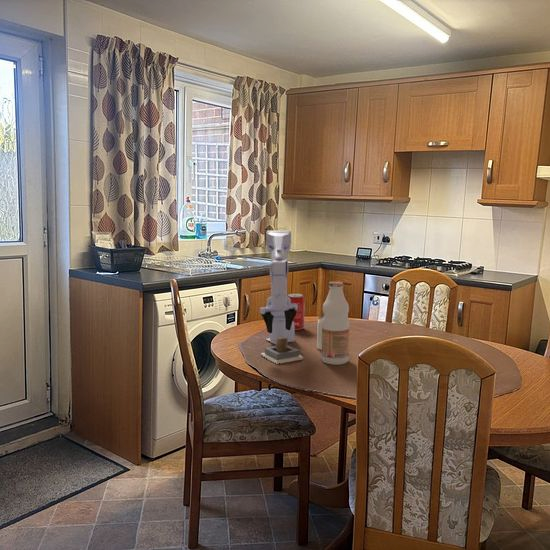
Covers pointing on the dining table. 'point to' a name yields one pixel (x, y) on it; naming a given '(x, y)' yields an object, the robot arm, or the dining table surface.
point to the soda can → (298, 310)
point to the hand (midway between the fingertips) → (278, 331)
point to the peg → (281, 344)
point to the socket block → (281, 355)
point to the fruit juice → (335, 326)
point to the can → (319, 333)
